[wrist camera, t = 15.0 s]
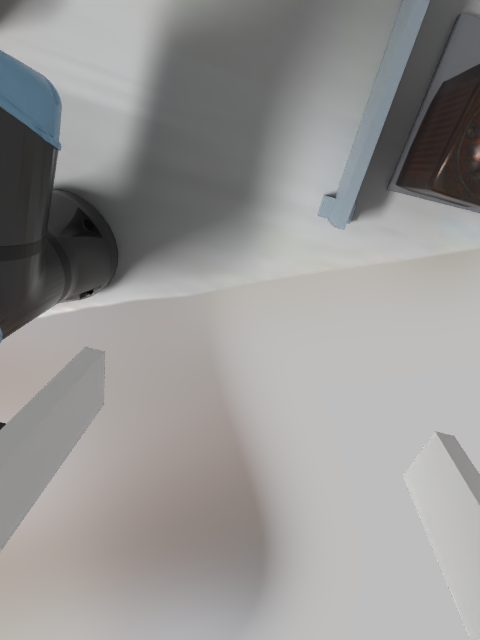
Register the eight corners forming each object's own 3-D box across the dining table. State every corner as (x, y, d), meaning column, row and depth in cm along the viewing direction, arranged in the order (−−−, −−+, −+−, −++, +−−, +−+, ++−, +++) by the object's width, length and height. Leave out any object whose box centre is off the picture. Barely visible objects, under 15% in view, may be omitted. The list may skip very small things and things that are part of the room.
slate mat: (386, 189, 37) (388, 189, 37) (458, 15, 30) (461, 12, 30) (482, 213, 38) (485, 214, 37) (576, 46, 30) (582, 44, 30)
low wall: (316, 217, 40) (322, 224, 35) (424, -112, 27) (454, -167, 22) (347, 224, 40) (356, 232, 35) (469, -100, 27) (507, -152, 22)
